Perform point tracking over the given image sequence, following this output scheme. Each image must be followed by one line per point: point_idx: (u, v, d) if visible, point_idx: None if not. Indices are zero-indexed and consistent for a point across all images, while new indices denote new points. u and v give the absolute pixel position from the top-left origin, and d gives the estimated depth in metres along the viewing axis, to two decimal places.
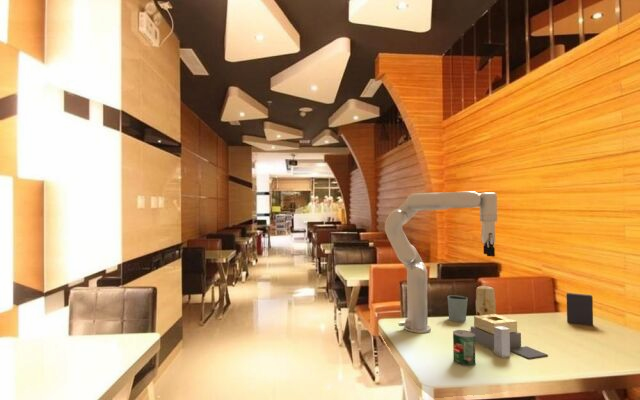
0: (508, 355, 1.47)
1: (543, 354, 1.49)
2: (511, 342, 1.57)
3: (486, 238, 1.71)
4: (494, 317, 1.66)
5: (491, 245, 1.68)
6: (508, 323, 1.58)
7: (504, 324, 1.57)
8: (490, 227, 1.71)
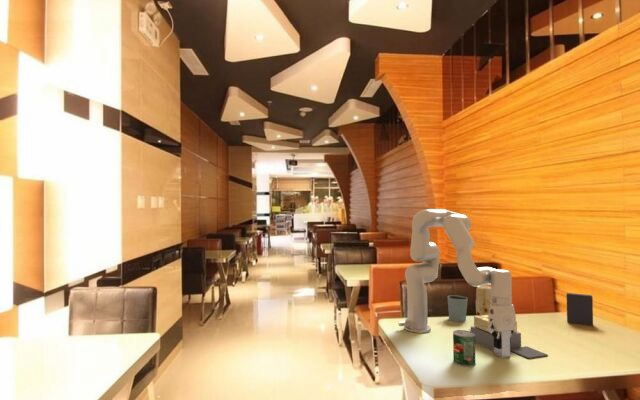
0: (508, 355, 1.47)
1: (543, 354, 1.49)
2: (511, 342, 1.57)
3: None
4: None
5: None
6: None
7: None
8: None
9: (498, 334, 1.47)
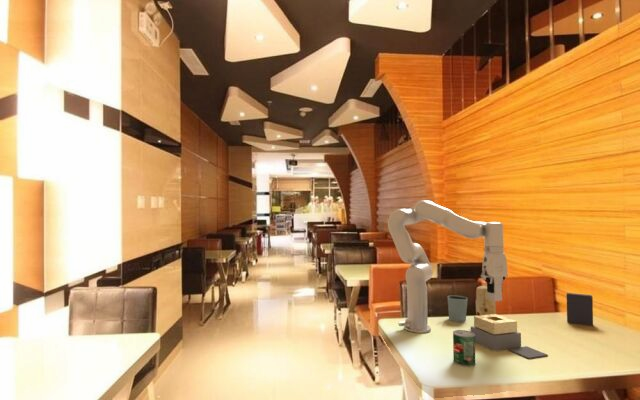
0: (500, 299, 1.62)
1: (543, 354, 1.49)
2: (511, 342, 1.57)
3: None
4: (494, 317, 1.66)
5: None
6: (508, 323, 1.58)
7: (504, 324, 1.57)
8: None
9: (491, 279, 1.61)
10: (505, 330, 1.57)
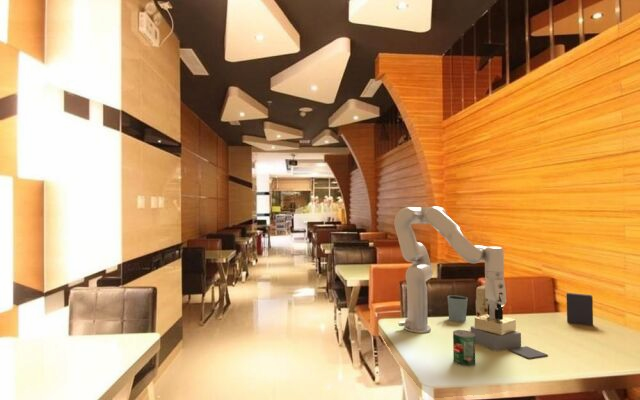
0: None
1: (543, 354, 1.49)
2: (511, 342, 1.57)
3: None
4: None
5: None
6: (510, 322, 1.59)
7: (507, 324, 1.58)
8: None
9: None
10: (508, 329, 1.58)
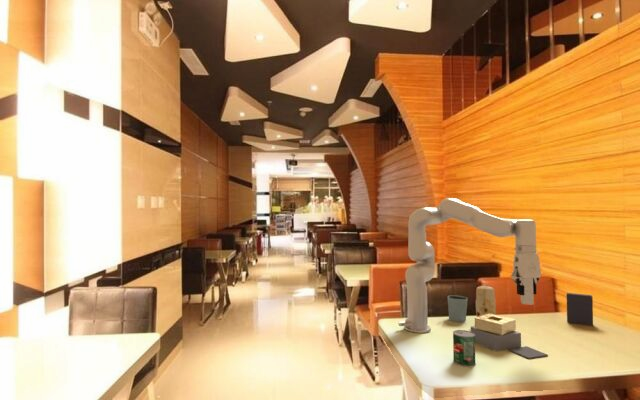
0: (531, 303, 1.50)
1: (543, 354, 1.49)
2: (511, 342, 1.57)
3: None
4: (491, 317, 1.66)
5: None
6: (510, 322, 1.59)
7: (508, 324, 1.58)
8: None
9: (522, 281, 1.50)
10: (508, 329, 1.58)
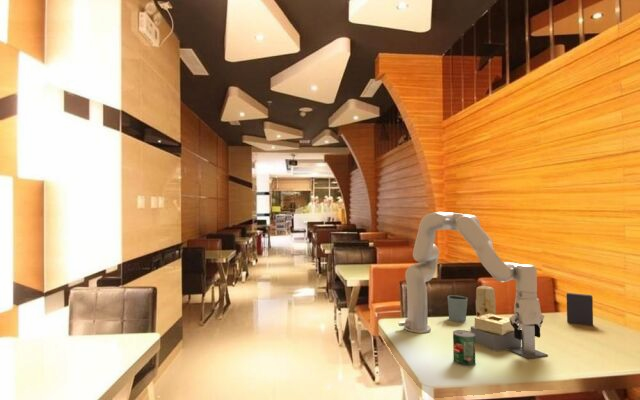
0: (532, 352, 1.49)
1: (543, 354, 1.49)
2: (511, 342, 1.57)
3: None
4: (491, 317, 1.66)
5: None
6: None
7: (508, 324, 1.58)
8: None
9: (520, 325, 1.49)
10: (508, 329, 1.58)
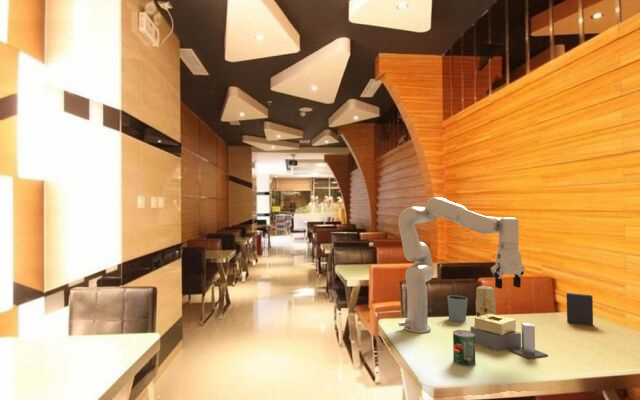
0: (532, 352, 1.49)
1: (543, 354, 1.49)
2: (511, 342, 1.57)
3: None
4: (491, 317, 1.66)
5: None
6: (510, 322, 1.59)
7: (508, 324, 1.58)
8: None
9: (501, 275, 1.55)
10: (508, 329, 1.58)
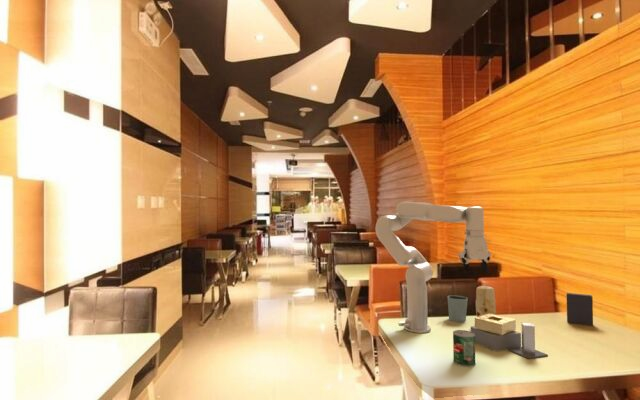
0: (532, 352, 1.49)
1: (543, 354, 1.49)
2: (511, 342, 1.57)
3: None
4: (491, 317, 1.66)
5: None
6: (510, 322, 1.59)
7: (508, 324, 1.58)
8: None
9: (468, 260, 1.65)
10: (508, 329, 1.58)
